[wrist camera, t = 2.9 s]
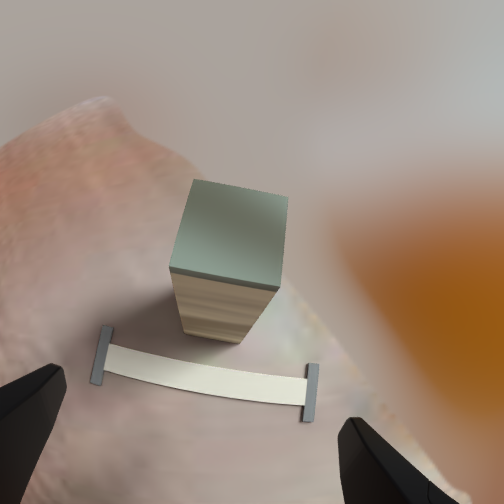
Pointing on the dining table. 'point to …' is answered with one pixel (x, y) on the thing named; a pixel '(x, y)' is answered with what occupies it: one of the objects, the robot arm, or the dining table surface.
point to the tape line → (205, 377)
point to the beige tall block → (227, 259)
